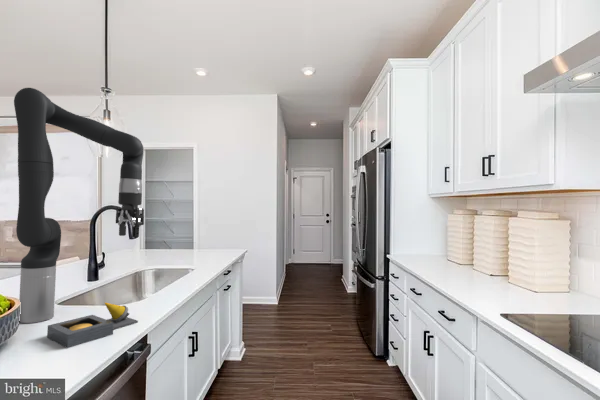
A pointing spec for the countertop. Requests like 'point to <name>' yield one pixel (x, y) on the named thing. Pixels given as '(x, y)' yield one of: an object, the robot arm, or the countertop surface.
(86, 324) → the button
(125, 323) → the rest mat
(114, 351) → the countertop surface
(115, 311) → the ridged yellow cone
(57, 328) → the grey open box
